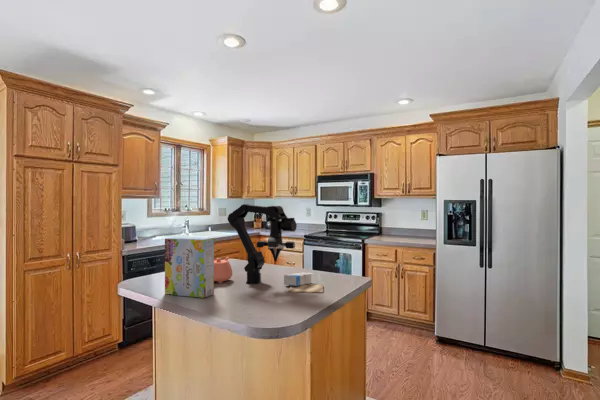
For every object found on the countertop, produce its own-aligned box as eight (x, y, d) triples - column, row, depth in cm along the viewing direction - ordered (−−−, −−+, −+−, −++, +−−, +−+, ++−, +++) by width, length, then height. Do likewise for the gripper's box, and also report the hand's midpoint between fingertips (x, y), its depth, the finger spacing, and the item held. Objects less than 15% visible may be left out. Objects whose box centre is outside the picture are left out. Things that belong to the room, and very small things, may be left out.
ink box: (296, 286, 161) (315, 282, 172) (296, 276, 161) (315, 273, 172) (283, 284, 167) (302, 281, 178) (283, 274, 167) (302, 271, 178)
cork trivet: (288, 292, 155) (288, 291, 155) (291, 285, 168) (291, 284, 168) (322, 293, 154) (322, 291, 154) (323, 285, 166) (323, 284, 166)
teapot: (239, 277, 186) (239, 255, 186) (221, 286, 167) (221, 261, 167) (217, 276, 190) (217, 254, 190) (197, 284, 170) (197, 260, 170)
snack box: (215, 293, 153) (215, 237, 153) (204, 299, 145) (203, 239, 145) (176, 289, 160) (176, 236, 160) (163, 294, 152) (163, 238, 152)
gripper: (253, 231, 162) (253, 264, 162) (291, 232, 159) (291, 265, 159) (259, 229, 173) (259, 259, 173) (295, 230, 170) (294, 261, 170)
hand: (275, 261), depth 169 cm, fingers closed
